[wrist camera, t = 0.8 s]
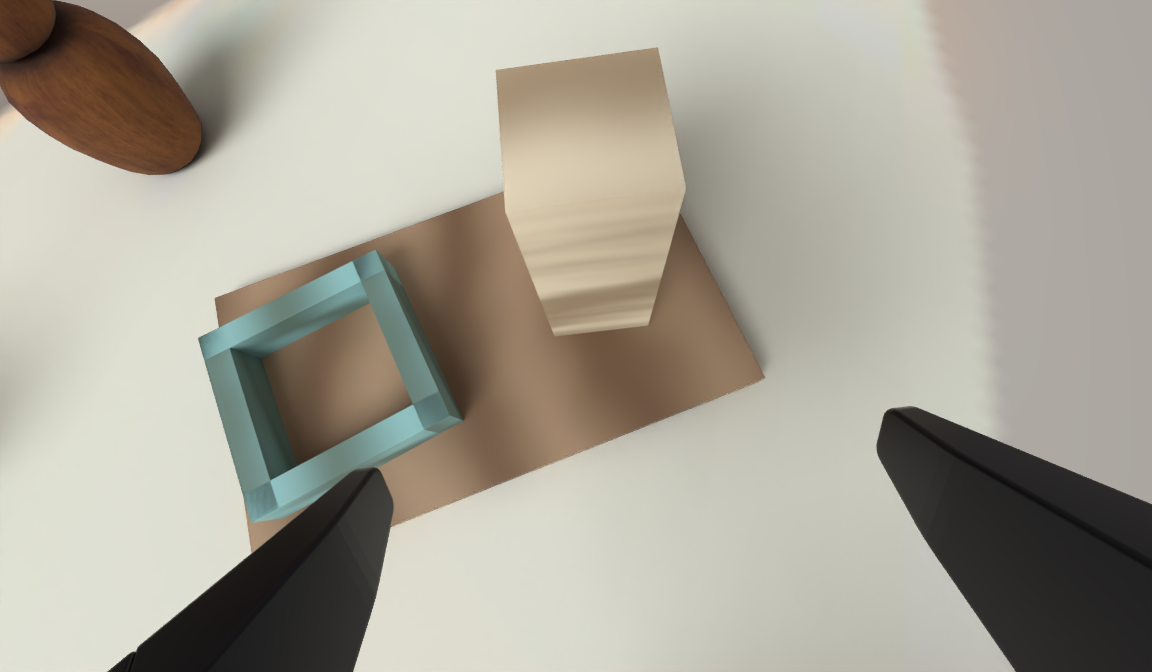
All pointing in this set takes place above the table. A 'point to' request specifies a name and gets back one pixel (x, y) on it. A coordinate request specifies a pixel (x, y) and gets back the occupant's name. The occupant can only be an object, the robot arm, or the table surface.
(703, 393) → the brown board with frame
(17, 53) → the wooden figurine
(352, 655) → the robot arm
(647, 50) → the birch block
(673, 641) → the table surface
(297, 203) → the table surface
